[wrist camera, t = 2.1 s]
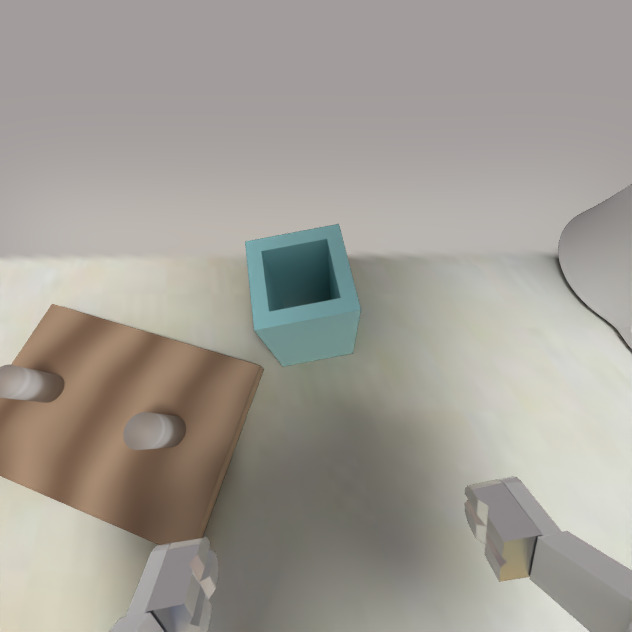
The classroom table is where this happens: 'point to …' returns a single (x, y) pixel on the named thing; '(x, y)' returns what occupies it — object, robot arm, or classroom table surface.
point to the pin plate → (123, 423)
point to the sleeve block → (303, 295)
